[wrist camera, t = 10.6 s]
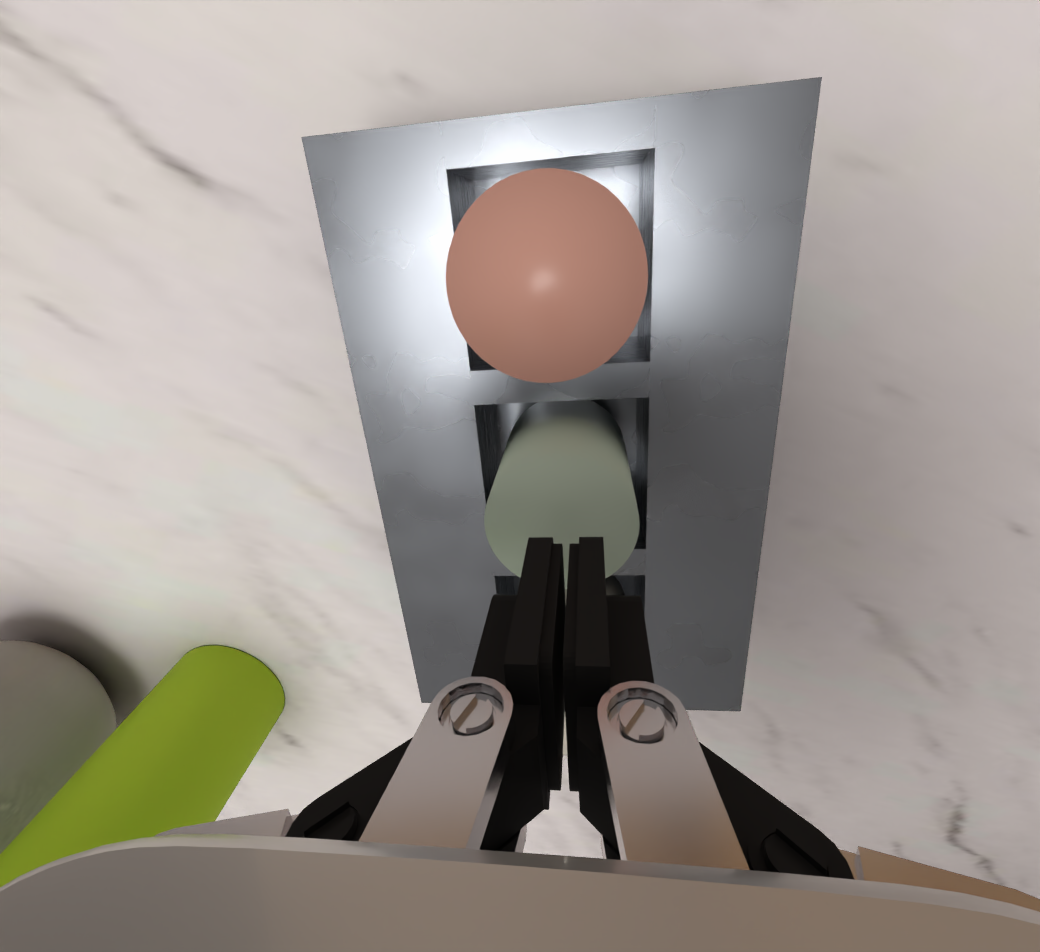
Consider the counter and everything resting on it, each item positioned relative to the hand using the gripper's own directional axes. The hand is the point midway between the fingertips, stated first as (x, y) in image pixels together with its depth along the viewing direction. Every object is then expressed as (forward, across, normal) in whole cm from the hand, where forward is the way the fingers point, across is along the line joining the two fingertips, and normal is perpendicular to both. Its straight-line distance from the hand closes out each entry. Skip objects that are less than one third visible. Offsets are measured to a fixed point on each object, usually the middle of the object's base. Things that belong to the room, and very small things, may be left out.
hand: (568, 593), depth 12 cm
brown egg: (+6, 0, -7) cm, 9 cm away
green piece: (+7, 0, -1) cm, 7 cm away
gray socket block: (+9, 0, -1) cm, 9 cm away
